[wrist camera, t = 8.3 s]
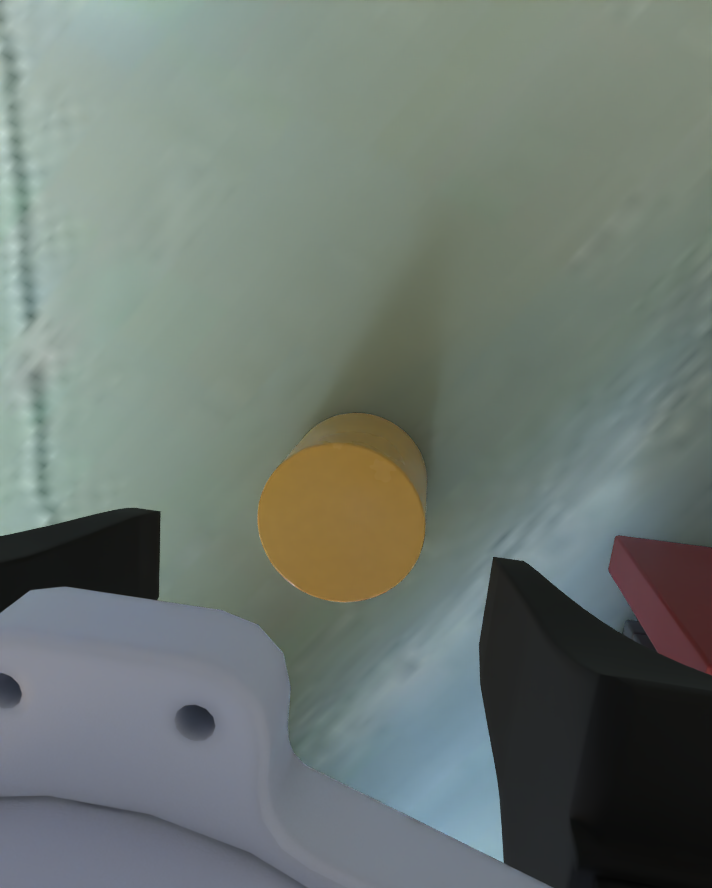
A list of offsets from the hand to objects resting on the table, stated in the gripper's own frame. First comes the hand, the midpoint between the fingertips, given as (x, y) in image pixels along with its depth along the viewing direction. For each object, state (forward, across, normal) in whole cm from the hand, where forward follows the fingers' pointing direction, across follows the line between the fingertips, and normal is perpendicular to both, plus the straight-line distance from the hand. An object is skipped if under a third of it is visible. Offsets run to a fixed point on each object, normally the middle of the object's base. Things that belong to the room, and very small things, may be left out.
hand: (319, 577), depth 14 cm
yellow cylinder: (+7, 0, 0) cm, 7 cm away
